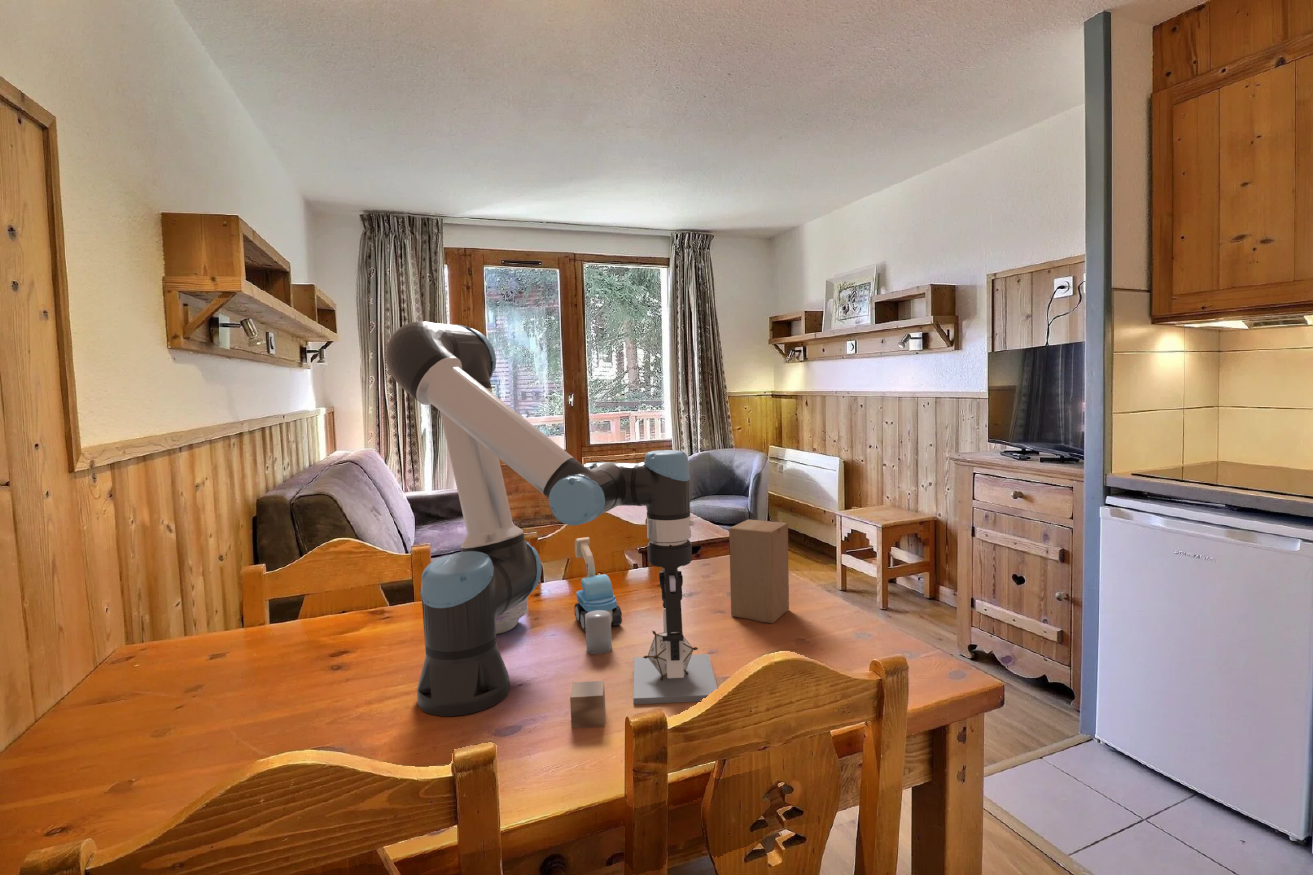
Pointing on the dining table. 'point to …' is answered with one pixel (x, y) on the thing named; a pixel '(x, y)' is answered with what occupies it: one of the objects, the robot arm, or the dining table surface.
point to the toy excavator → (594, 589)
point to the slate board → (673, 682)
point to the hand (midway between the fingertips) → (673, 659)
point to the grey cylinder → (598, 632)
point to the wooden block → (759, 570)
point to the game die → (659, 653)
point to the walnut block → (587, 704)
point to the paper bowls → (510, 617)
